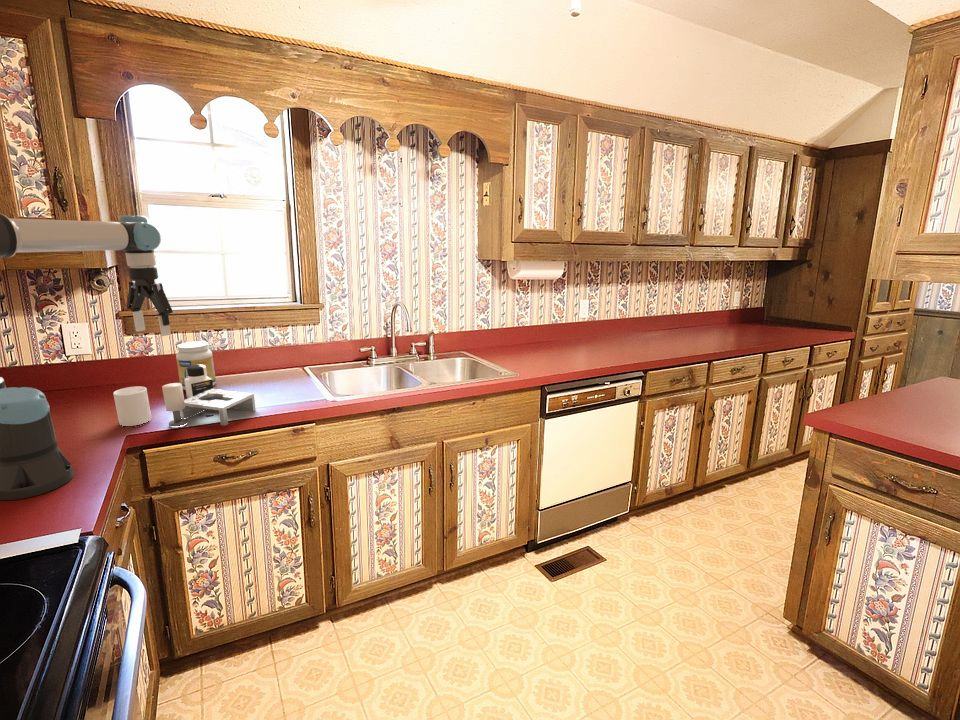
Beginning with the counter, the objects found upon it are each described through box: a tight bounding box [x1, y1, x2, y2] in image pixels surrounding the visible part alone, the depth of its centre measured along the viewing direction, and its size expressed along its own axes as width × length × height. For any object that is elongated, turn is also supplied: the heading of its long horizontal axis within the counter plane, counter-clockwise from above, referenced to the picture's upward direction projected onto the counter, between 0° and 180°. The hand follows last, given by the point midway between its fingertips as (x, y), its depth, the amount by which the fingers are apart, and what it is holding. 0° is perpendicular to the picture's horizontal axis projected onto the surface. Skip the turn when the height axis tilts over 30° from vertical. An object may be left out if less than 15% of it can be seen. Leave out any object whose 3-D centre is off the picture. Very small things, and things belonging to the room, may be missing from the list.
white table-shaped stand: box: [180, 388, 256, 427], centre depth 164 cm, size 14×17×6 cm
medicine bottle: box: [184, 364, 214, 399], centre depth 180 cm, size 7×7×12 cm
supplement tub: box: [175, 341, 217, 391], centre depth 190 cm, size 12×12×17 cm
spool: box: [161, 382, 188, 427], centre depth 155 cm, size 5×5×13 cm
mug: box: [112, 386, 152, 427], centre depth 158 cm, size 9×12×11 cm
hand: (153, 333), depth 161 cm, fingers open, 13 cm apart
